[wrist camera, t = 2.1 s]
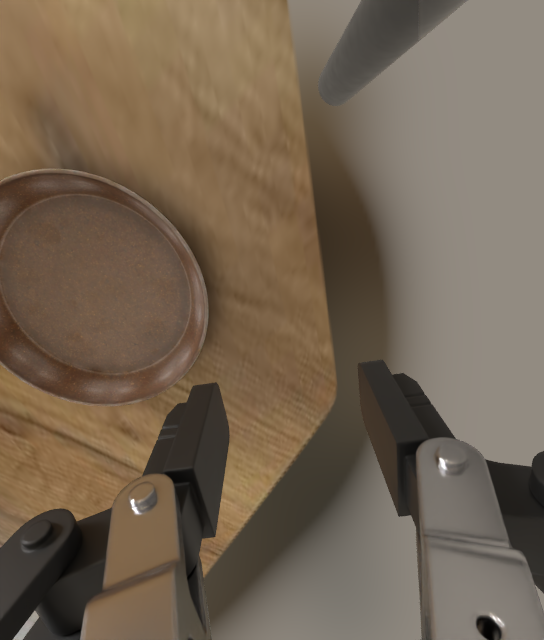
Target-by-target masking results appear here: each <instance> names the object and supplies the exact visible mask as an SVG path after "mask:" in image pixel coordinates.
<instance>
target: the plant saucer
mask: <svg viewBox="0 0 544 640" xmlns="http://www.w3.org/2000/svg"><path fill="white" fill-rule="evenodd" d="M207 327H208V297H207V291H206V286H205V282H204V279H203V275H202V273H201V270H200V267H199V265H198V263H197V261H196V259H195V257H194V255H193V253H192V251H191V249H190V248H189V246H188V244H187V243H186V241H185V240H184V239H183V237H182V236H181V234H180V233H179V232H178V231H177V229H176V228H175V227H174V226H173V225H172V224H171V222H170V221H169V220H168V219H167V218H166V217H165V216H164V215H163V214H162V213H161V212H159V211H158V210H157V209H156V208H155V207H154V206H152V205H151V204H150V203H149V202H147V201H146V200H145V199H143V198H142V197H140V196H139V195H137V194H136V193H134V192H133V191H131V190H129V189H127V188H126V187H124V186H122V185H120V184H118V183H115V182H113V181H111V180H109V179H106V178H103V177H100V176H97V175H94V174H90V173H86V172H82V171H76V170H68V169H39V170H32V171H27V172H23V173H19V174H16V175H12V176H10V177H7V178H5V179H3V180H1V181H0V364H1V365H2V366H3V367H4V368H5V369H7V370H8V371H9V372H10V373H12V374H13V375H15V376H16V377H18V378H19V379H20V380H22V381H23V382H25V383H27V384H28V385H30V386H32V387H34V388H36V389H38V390H40V391H42V392H44V393H46V394H49V395H51V396H54V397H57V398H59V399H63V400H66V401H69V402H74V403H78V404H84V405H90V406H122V405H129V404H133V403H137V402H141V401H144V400H148V399H150V398H152V397H155V396H157V395H159V394H160V393H162V392H164V391H166V390H167V389H169V388H170V387H172V386H173V385H175V384H176V383H177V382H178V381H179V380H180V379H181V378H182V377H183V376H184V375H185V374H186V373H187V372H188V371H189V370H190V368H191V367H192V365H193V364H194V363H195V361H196V359H197V357H198V355H199V353H200V351H201V349H202V347H203V344H204V341H205V337H206V333H207Z"/></svg>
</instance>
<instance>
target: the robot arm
mask: <svg viewBox="0 0 544 640" xmlns="http://www.w3.org/2000/svg"><path fill="white" fill-rule="evenodd" d="M358 378H359V391H360V404H361V412H362V416H363V421H364V424H365V427H366V430H367V432H368V435H369V438H370V440H371V443H372V446H373V448H374V451H375V454H376V456H377V459H378V462H379V465H380V467H381V470H382V473H383V475H384V478H385V481H386V484H387V486H388V489H389V492H390V494H391V497H392V500H393V502H394V505H395V508H396V510H397V513H398V516H399V517H400V516H408V515H411V516H412V518H413V521H414V523H415V526H416V545H417V562H418V579H419V595H420V614H421V634H422V640H544V612H543V609H542V605H541V602H540V599H539V596H538V593H537V590H536V587H535V585H536V586H537V587H538V588H539V589H540V590H541V591H542V592H543V593H544V451H543V452H540V453H538V454H537V455H536V456H535V457H534V459H533V462H532V467H529V466H521V465H513V464H504V463H498V462H493V461H489V460H486V459H484V457H483V456H482V454H481V453H480V452H479V451H478V450H477V449H476V448H474V447H473V446H471V445H469V444H467V443H465V442H463V441H460V440H457V439H456V438H455V437H454V435H453V434H452V433H451V431H450V430H449V428H448V427H447V425H446V424H445V423H444V421H443V419H442V418H441V417H440V415H439V414H438V412H437V411H436V409H435V408H434V406H433V405H431V402H430V401H429V399H428V398H427V396H426V395H425V394H424V392H423V390H422V389H421V387H420V386H419V384H418V383H417V382H416V381H415V380H413V379H411V378H410V377H408V376H407V375H405V374H404V373H401V374H394V375H392V374H391V372H390V371H389V369H388V367H387V366H386V364H385V362H384V361H383V360H377V361H369V362H362V363H359V364H358ZM228 446H229V425H228V420H227V416H226V412H225V408H224V404H223V400H222V397H221V393H220V389H219V386H218V384H217V383H209V384H202V385H195V386H193V387H192V389H191V392H190V395H189V398H188V401H187V403H179V404H177V405H176V406H175V407H174V409H173V410H172V411H171V412H170V413H169V414H168V415H167V417H166V419H165V422H164V424H163V427H162V430H161V432H160V434H159V436H158V440H157V441H156V444H155V446H154V449H153V451H152V454H151V456H150V458H149V461H148V463H147V466H146V468H145V471H144V473H143V475H142V477H139V478H137V479H136V480H134V481H132V482H131V483H129V484H128V485H127V486H126V487H124V488H123V489H122V490H121V492H120V493H119V494H118V495H117V497H116V499H115V500H114V503H113V506H112V508H110V509H108V510H105V511H103V512H100V513H98V514H95V515H93V516H90V517H88V518H85V519H82V520H80V521H76V519H75V518H74V516H73V514H72V513H71V512H70V511H69V510H66V509H53V510H49V511H47V512H44V513H42V514H40V515H38V516H36V517H34V518H32V519H31V520H29V521H28V522H27V523H25V524H24V525H23V526H22V527H20V528H19V529H18V530H17V531H16V532H15V533H14V534H13V535H12V536H11V537H10V538H9V539H8V540H7V542H6V543H5V544H4V545H3V546H2V547H1V548H0V640H13V638H14V637H15V636H16V634H17V633H18V632H19V630H20V629H21V628H22V626H23V625H24V624H25V622H26V621H27V620H28V618H29V617H30V616H31V614H32V613H33V612H34V610H35V611H36V612H37V614H38V615H39V618H38V620H37V621H36V622H35V624H34V625H33V627H32V628H31V629H30V631H29V632H28V633H27V635H26V636H25V637H24V639H23V640H212V637H211V630H210V622H209V615H208V608H207V600H206V593H205V586H204V578H203V571H202V564H201V560H200V557H199V552H200V546H201V541H202V539H203V538H211V537H215V535H216V529H217V522H218V515H219V508H220V501H221V494H222V488H223V481H224V474H225V467H226V460H227V453H228Z"/></svg>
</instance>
